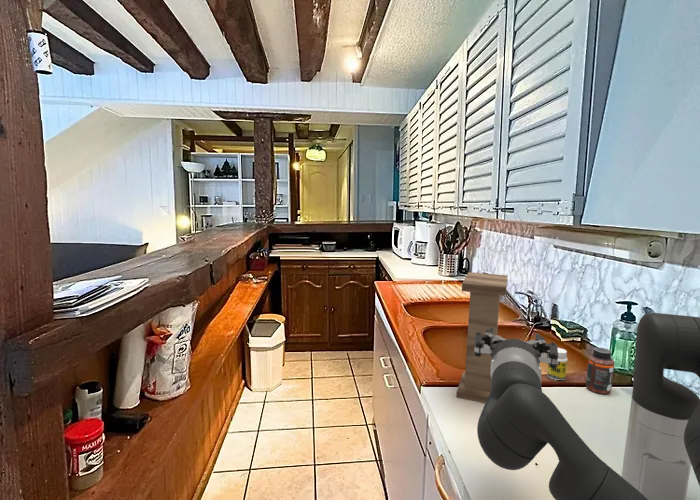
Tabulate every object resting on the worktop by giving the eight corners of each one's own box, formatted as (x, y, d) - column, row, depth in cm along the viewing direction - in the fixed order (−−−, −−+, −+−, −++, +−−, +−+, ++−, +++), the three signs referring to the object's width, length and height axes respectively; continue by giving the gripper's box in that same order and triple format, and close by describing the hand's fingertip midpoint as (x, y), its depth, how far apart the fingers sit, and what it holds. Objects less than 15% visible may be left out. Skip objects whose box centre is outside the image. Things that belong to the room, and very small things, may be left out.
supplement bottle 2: (616, 395, 106) (621, 354, 104) (593, 394, 106) (598, 354, 104) (602, 384, 112) (607, 345, 110) (581, 383, 112) (585, 345, 110)
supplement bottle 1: (548, 380, 114) (551, 352, 113) (545, 372, 118) (548, 345, 117) (567, 382, 113) (570, 354, 111) (563, 375, 117) (566, 348, 116)
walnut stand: (496, 409, 98) (506, 287, 94) (455, 400, 102) (462, 283, 97) (499, 384, 111) (507, 275, 106) (462, 377, 115) (468, 272, 110)
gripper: (468, 383, 68) (475, 347, 83) (561, 399, 63) (551, 358, 78) (471, 341, 67) (478, 312, 82) (566, 355, 62) (555, 322, 77)
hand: (514, 335), depth 80 cm, fingers open, 8 cm apart
